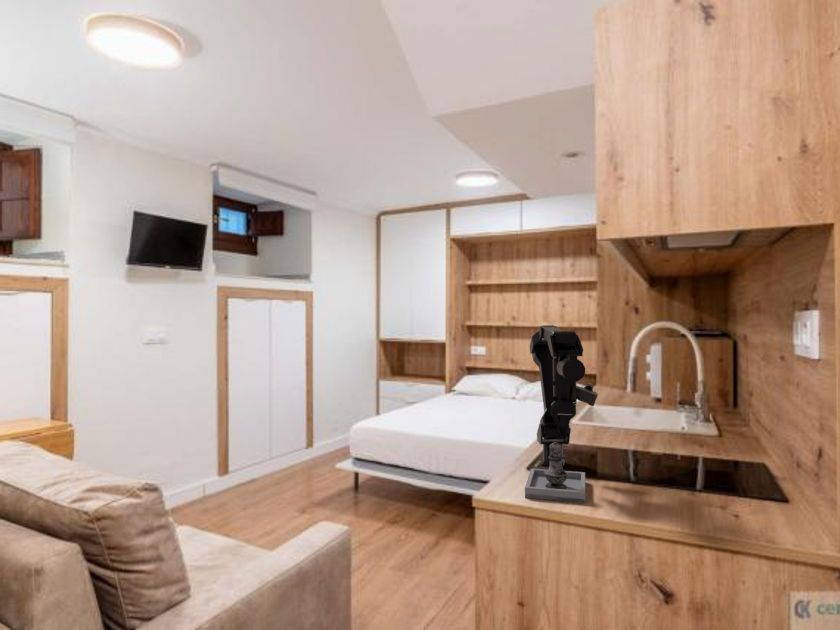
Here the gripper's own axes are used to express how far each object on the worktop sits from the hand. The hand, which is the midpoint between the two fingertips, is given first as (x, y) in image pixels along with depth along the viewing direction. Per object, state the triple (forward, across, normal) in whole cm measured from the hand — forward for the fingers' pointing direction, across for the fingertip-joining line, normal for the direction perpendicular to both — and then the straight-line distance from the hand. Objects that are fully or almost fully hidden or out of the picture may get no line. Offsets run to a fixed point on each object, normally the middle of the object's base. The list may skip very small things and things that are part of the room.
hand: (564, 434), depth 137 cm
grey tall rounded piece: (+11, -10, +2) cm, 15 cm away
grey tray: (+12, -9, +2) cm, 15 cm away
